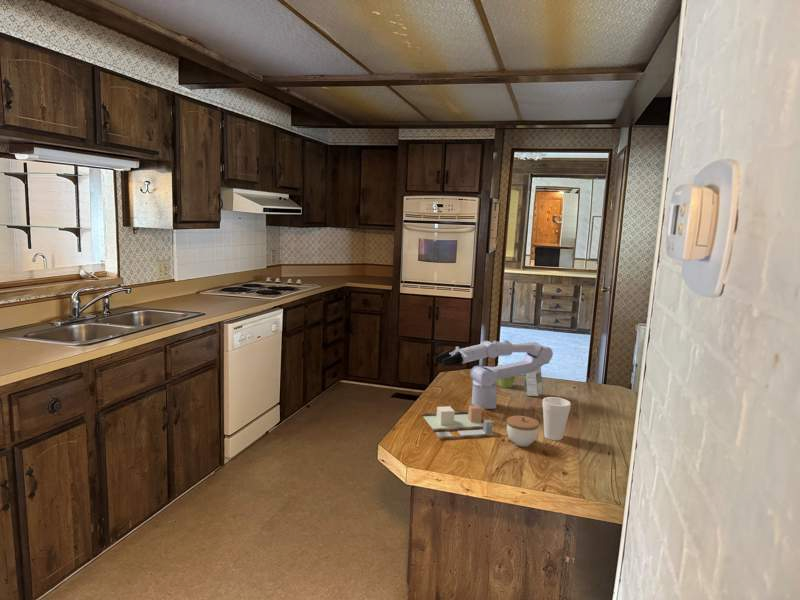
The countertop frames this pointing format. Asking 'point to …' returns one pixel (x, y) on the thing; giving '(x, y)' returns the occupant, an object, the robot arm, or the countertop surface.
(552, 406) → the foam cup
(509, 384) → the plant pot
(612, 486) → the countertop surface
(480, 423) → the green flat panel
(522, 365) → the robot arm
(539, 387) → the syrup box
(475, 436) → the lane rails
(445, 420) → the cream cube
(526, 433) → the lidded jar
